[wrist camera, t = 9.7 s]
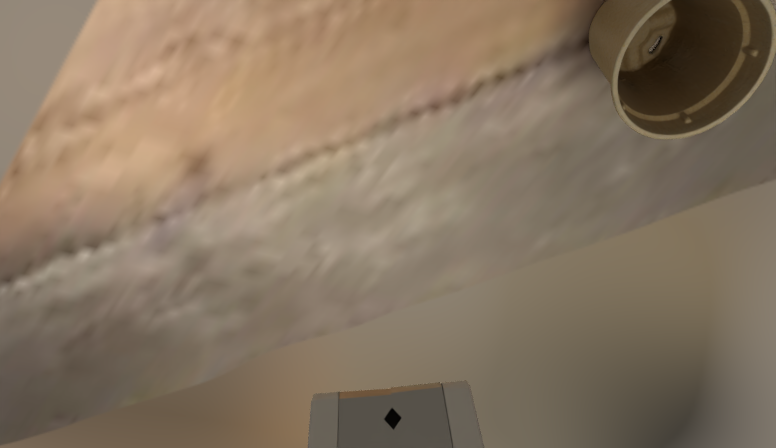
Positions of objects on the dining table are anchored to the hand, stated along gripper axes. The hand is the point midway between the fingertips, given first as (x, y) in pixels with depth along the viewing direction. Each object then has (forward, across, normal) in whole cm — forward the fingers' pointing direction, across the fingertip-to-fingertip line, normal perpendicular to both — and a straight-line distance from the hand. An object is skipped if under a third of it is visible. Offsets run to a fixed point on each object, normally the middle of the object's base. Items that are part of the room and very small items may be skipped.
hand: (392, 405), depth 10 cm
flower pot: (+31, -19, +2) cm, 37 cm away
